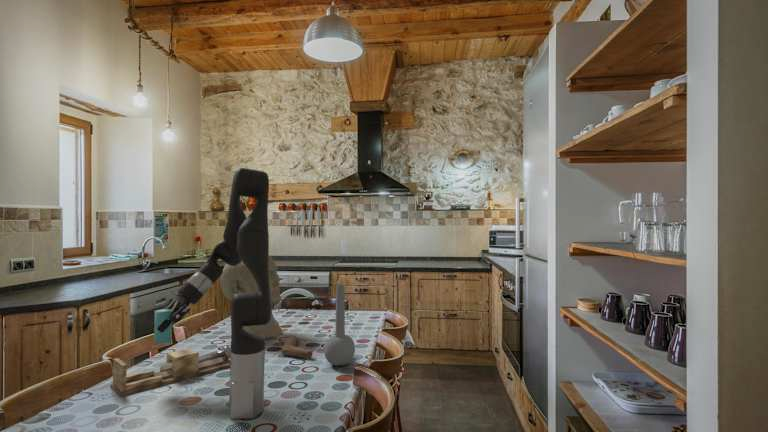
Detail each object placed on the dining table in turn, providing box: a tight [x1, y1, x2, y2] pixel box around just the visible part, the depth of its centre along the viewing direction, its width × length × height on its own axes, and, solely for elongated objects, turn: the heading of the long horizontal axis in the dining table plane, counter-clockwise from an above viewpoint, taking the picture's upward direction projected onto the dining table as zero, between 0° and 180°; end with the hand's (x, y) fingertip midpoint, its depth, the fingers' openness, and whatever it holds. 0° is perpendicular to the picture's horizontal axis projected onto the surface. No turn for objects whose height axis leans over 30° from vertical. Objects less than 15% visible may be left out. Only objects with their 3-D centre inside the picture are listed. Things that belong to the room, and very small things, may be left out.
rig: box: [109, 347, 230, 397], centre depth 137 cm, size 37×11×9 cm, turn 139°
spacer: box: [153, 309, 173, 345], centre depth 129 cm, size 5×5×10 cm
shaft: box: [159, 345, 231, 372], centre depth 142 cm, size 24×5×5 cm, turn 139°
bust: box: [219, 255, 283, 340], centre depth 191 cm, size 25×28×40 cm
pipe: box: [280, 335, 314, 360], centre depth 162 cm, size 6×17×10 cm
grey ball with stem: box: [323, 284, 356, 367], centre depth 154 cm, size 12×19×30 cm, turn 12°
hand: (156, 329), depth 128 cm, fingers closed on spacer, 5 cm apart
